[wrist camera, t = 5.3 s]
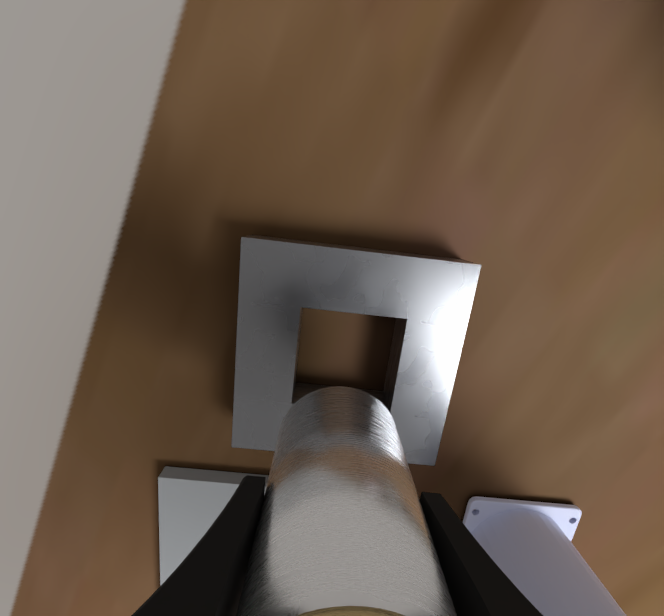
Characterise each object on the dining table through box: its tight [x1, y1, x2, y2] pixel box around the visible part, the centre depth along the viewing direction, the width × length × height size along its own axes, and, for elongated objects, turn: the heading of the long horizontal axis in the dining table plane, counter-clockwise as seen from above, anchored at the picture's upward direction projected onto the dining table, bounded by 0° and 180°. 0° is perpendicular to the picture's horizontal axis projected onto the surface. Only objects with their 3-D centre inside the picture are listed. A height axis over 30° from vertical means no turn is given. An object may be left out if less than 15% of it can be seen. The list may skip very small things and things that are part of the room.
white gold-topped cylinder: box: [236, 386, 457, 616], centre depth 10 cm, size 5×5×8 cm
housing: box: [232, 235, 481, 466], centre depth 19 cm, size 12×12×2 cm
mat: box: [158, 466, 269, 586], centre depth 24 cm, size 12×12×1 cm
